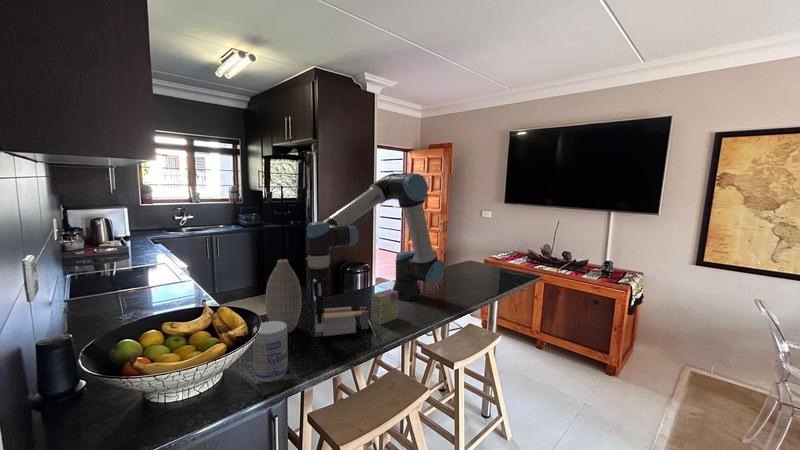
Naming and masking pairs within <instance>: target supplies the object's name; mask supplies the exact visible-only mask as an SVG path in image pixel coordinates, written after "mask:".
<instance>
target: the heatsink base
mask: <svg viewBox="0 0 800 450" xmlns="http://www.w3.org/2000/svg"><path fill="white" fill-rule="evenodd" d="M324 309H325V312H324V313H337V312H351V311H353V308H352V306H344V307H343V306H342V307H331V308H324ZM362 310H365V311H362ZM359 311H362V316H359V325H360V326H361V330H368V329H369V326H370V328H371V331H372V333H373V335H374V337H375V338H377V334H376V332H375V330H374V328H373V326H372V323H371V321H370V320H369V311H368V310H367V306H360V307H359ZM356 327H357V320H356V318H355V317H354V314H346V315H335V316H324V320H323V330H324V331H322V337H328V336H337V335H347V334H355V333H356V332H357V328H356Z"/></svg>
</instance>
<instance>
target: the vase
mask: <svg viewBox="0 0 800 450" xmlns="http://www.w3.org/2000/svg"><path fill="white" fill-rule="evenodd" d="M267 280H268V281H267V284H266V289H265V312H266V316H267V320H268V322H269V321H281V322H284V323H285V324H286V325H287V334H289V333H291V332H293V331H294V330H295V329H296V327H297V325H298V322H299V320H300V316H301V311H302V289H301V284H300V282H299V278H298V276H297V274H296V272H295V271H294V269H293V268H292V267H291V264H290V263H289V260H288V259H285V258H284V259H283V258H281V259H278V260H276V265H275V267H274V269H273V270H272V272H271V274H270V276H269V278H268V279H267Z"/></svg>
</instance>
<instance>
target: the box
mask: <svg viewBox="0 0 800 450" xmlns="http://www.w3.org/2000/svg"><path fill="white" fill-rule="evenodd" d="M398 315H399V299H398V292H397V291H394V290H393V289H391V288H390V289H385V290H382V291H378V292H375V293H371V315H370V316H371V321H372V322H373V323H375V324H377V325H383V324H385V323H389V322H391V321H393V320H396V319H398V318H399V317H398ZM371 321H370V322H371Z"/></svg>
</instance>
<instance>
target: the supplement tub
mask: <svg viewBox="0 0 800 450" xmlns="http://www.w3.org/2000/svg"><path fill="white" fill-rule="evenodd" d="M260 324H261V329H260V332H259V334H258V335H257V337H256V338H255V340H254V342H253V341H252V353H253V354H252V357H253V360H252V361H253V364H252V365H253V367H252V368H253V377H254V379H255V380H256V381H258V382H262V383H269V382H270V383H271V382H275V381H278V380H280V379H282V378H283V377H284V376H286V373H287V372H288V369H289V367H288V366H289V363H288V362H289V359H288V357H289V356H288V353H289V351H288V350H289V349H288V333H287V325H286V324H285V323H284V322H281V321H269V320H268V321H264V322H262V323H260ZM256 326H257V325H255V326H254V327H253V329H252V334H253V333H256V331H257V327H256Z"/></svg>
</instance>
